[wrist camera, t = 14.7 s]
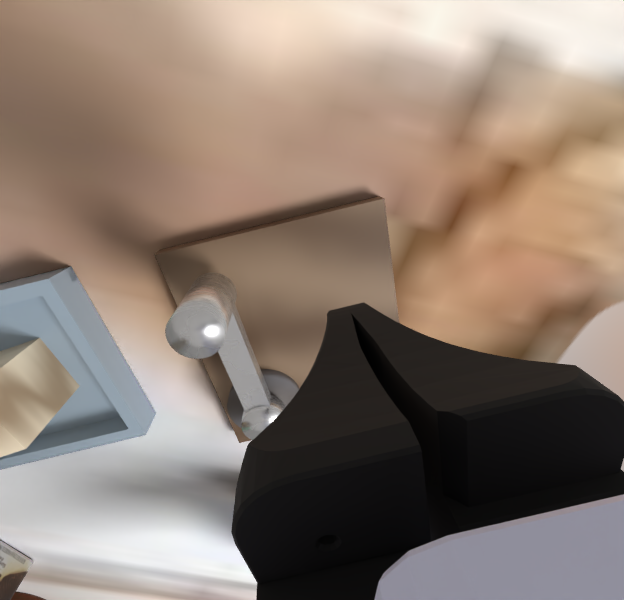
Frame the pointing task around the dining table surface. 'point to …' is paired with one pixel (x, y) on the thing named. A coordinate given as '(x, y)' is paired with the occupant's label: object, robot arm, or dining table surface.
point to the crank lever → (223, 346)
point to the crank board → (290, 287)
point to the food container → (25, 596)
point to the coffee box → (11, 570)
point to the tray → (73, 366)
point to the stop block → (30, 393)
